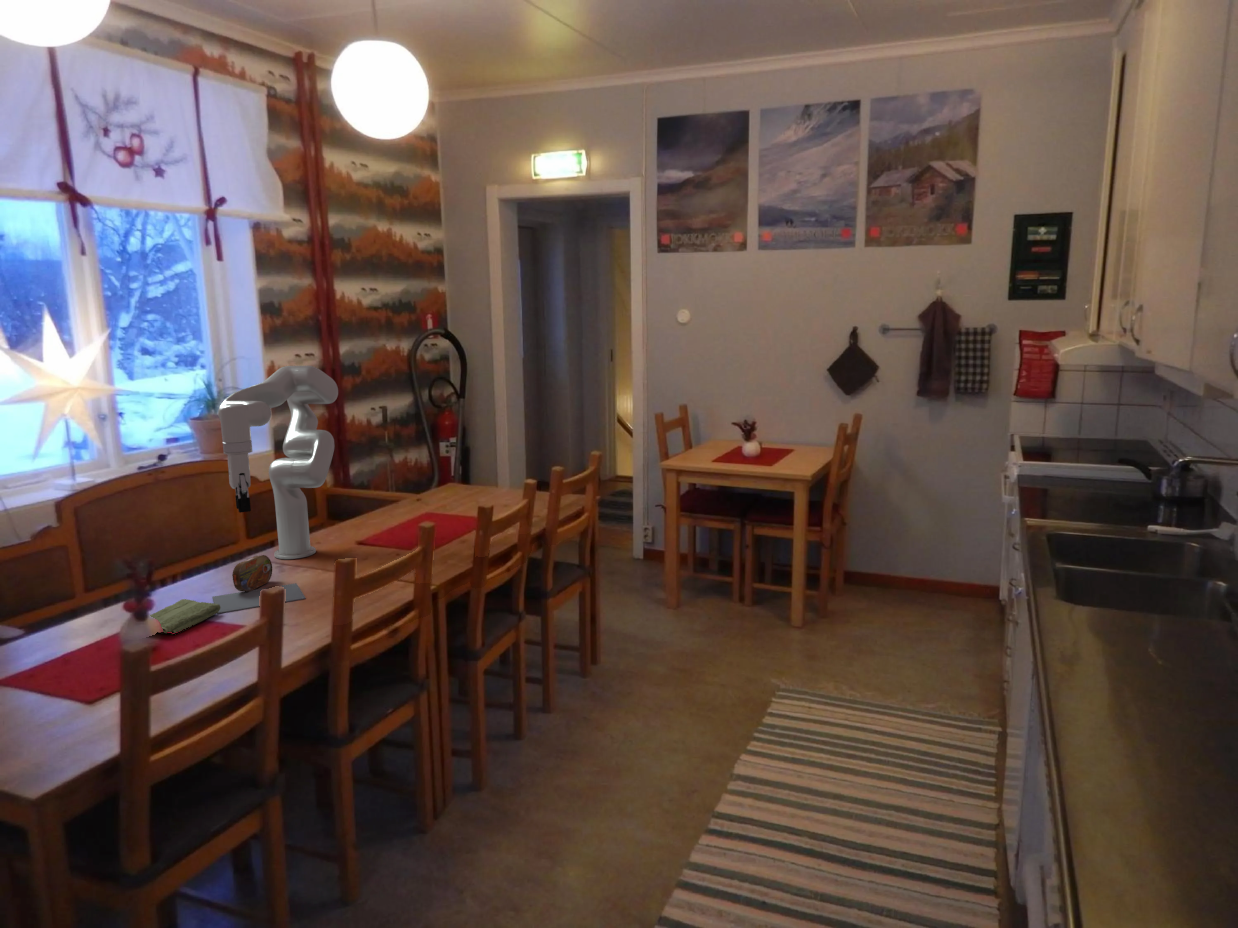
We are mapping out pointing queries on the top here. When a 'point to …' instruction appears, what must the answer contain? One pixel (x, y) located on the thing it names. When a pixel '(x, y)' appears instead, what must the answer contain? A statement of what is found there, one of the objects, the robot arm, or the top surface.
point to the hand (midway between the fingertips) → (243, 509)
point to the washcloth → (184, 614)
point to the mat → (252, 598)
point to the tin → (252, 573)
